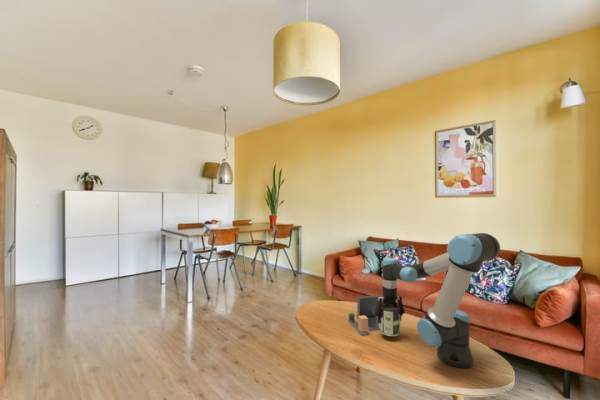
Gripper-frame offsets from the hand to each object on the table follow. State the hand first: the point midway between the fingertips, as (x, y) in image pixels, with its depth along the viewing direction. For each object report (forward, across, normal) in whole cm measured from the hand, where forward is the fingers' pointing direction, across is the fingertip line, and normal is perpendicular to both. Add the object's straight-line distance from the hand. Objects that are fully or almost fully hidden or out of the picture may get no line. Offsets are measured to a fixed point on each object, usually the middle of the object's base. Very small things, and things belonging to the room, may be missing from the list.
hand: (389, 327), depth 152 cm
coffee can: (+3, 0, 0) cm, 3 cm away
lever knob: (+3, +13, -7) cm, 15 cm away
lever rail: (+5, +13, -13) cm, 19 cm away
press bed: (+5, +1, -17) cm, 17 cm away
